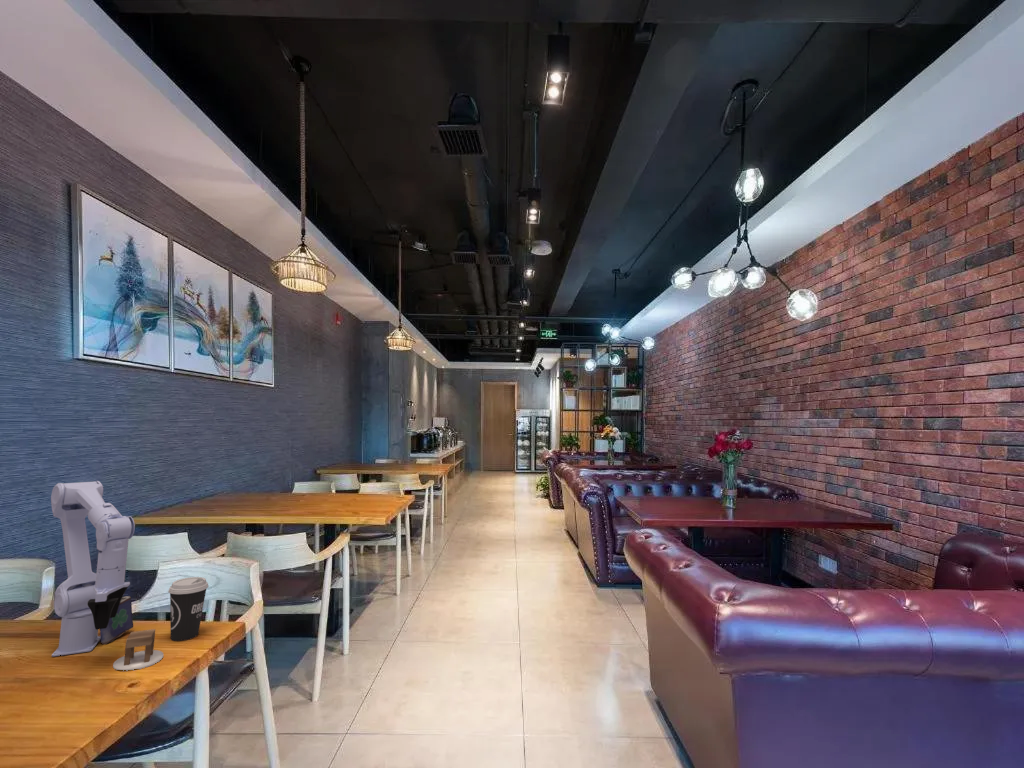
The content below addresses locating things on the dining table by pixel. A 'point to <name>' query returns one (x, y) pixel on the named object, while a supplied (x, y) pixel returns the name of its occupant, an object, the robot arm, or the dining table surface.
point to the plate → (138, 661)
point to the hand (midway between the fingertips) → (105, 622)
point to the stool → (139, 644)
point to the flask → (118, 622)
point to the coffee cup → (186, 607)
